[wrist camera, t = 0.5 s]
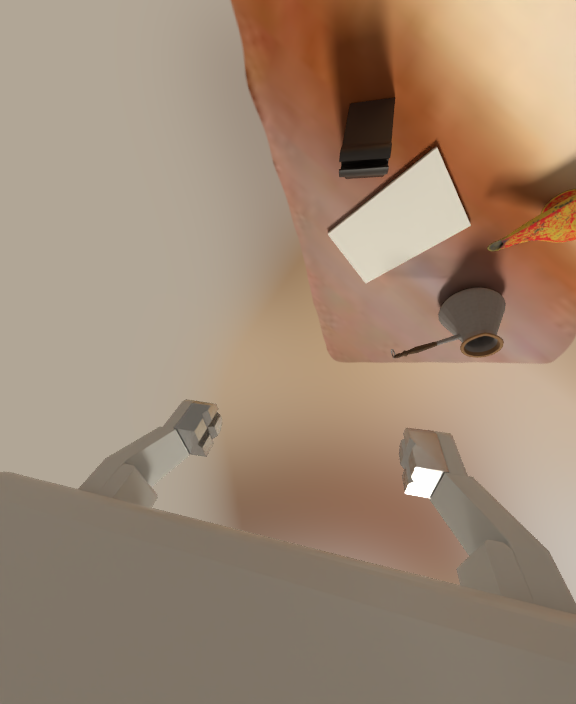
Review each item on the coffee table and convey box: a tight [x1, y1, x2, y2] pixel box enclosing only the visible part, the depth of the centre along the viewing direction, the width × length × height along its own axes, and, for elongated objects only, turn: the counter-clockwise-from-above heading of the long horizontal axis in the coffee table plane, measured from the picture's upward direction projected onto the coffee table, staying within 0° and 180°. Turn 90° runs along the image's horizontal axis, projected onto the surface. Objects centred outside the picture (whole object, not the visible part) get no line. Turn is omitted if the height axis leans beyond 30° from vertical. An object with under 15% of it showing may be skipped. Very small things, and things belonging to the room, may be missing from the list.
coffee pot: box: [391, 288, 506, 358], centre depth 50 cm, size 21×12×15 cm, turn 110°
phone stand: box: [339, 98, 395, 179], centre depth 33 cm, size 9×6×12 cm, turn 6°
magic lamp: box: [487, 189, 576, 251], centre depth 35 cm, size 7×18×11 cm, turn 113°
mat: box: [328, 146, 471, 283], centre depth 45 cm, size 20×14×1 cm
